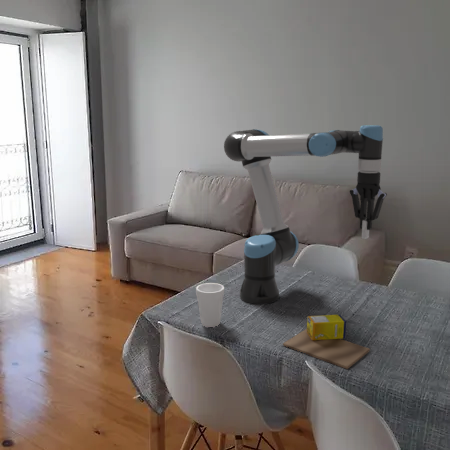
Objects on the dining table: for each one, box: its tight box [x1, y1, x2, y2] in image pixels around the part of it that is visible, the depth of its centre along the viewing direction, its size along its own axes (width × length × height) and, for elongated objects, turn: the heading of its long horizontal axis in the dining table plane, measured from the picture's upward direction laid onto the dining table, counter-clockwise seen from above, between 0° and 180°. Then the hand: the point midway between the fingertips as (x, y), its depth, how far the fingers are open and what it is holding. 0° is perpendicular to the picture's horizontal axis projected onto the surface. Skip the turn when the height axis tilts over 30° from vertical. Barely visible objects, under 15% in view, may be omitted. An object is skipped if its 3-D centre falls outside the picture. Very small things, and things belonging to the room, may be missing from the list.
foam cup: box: [195, 282, 225, 328], centre depth 172 cm, size 10×9×13 cm
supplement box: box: [306, 314, 347, 341], centre depth 161 cm, size 6×6×11 cm
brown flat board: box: [282, 328, 371, 370], centre depth 155 cm, size 22×14×1 cm, turn 49°
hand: (365, 238), depth 179 cm, fingers closed
